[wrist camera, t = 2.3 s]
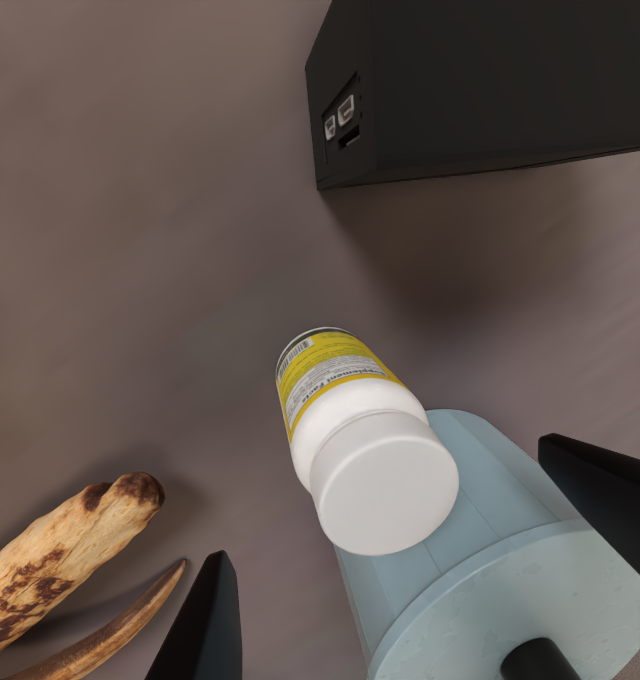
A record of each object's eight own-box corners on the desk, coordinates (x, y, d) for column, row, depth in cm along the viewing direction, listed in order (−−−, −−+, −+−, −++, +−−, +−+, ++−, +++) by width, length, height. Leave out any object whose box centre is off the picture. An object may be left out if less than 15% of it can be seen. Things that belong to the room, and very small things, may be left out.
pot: (526, 503, 23) (656, 635, 16) (376, 592, 23) (438, 766, 16) (477, 371, 19) (628, 471, 11) (290, 481, 19) (321, 654, 11)
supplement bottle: (368, 407, 18) (462, 550, 10) (278, 419, 17) (307, 586, 9) (370, 319, 16) (485, 412, 9) (270, 328, 16) (299, 440, 8)
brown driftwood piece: (29, 693, 21) (254, 513, 19) (-26, 823, 16) (258, 605, 15) (-159, 647, 17) (105, 415, 15) (-296, 803, 12) (52, 502, 11)
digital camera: (556, 14, 14) (836, -163, 7) (539, 167, 16) (748, 133, 9) (299, 21, 12) (363, -200, 6) (316, 190, 14) (377, 169, 8)
